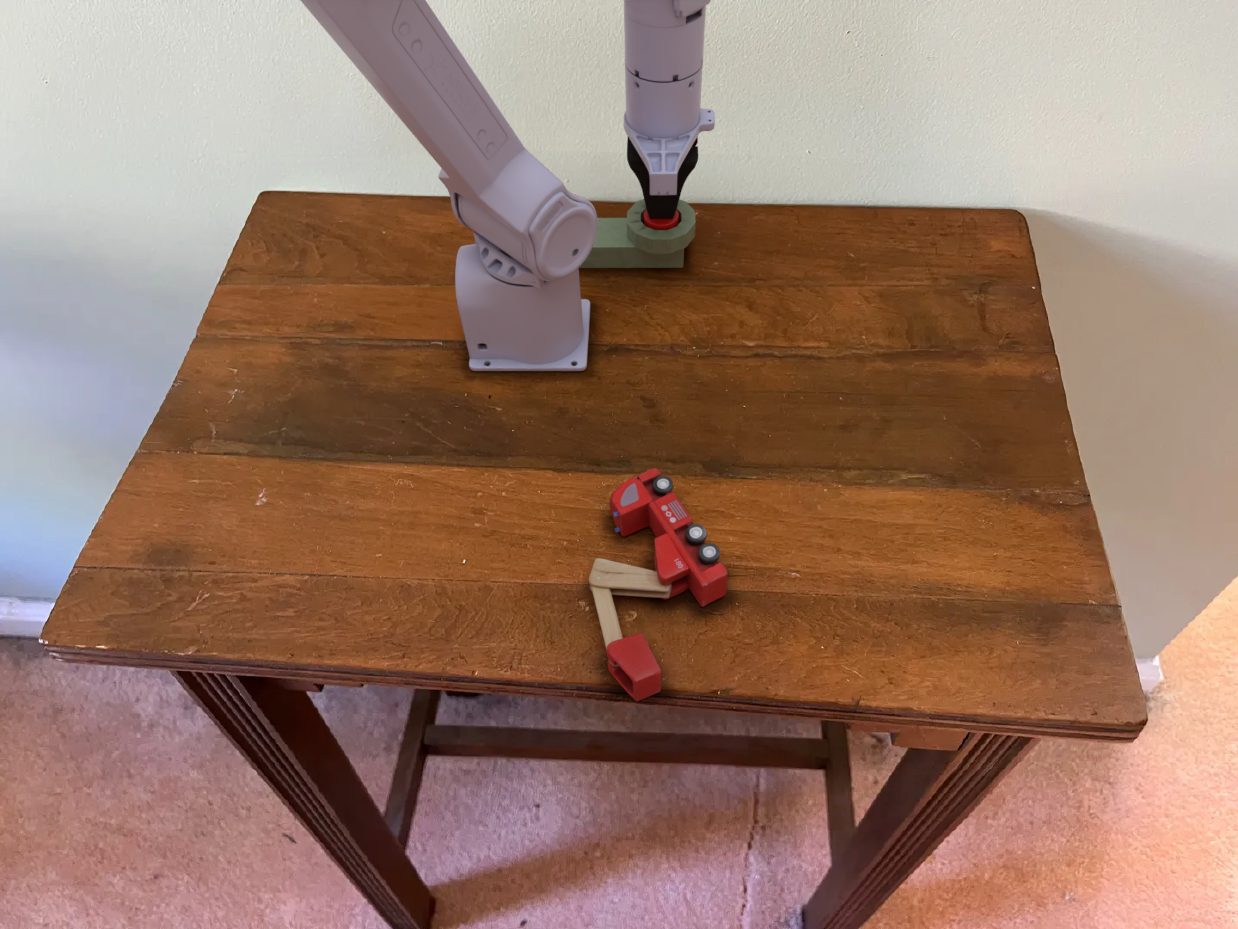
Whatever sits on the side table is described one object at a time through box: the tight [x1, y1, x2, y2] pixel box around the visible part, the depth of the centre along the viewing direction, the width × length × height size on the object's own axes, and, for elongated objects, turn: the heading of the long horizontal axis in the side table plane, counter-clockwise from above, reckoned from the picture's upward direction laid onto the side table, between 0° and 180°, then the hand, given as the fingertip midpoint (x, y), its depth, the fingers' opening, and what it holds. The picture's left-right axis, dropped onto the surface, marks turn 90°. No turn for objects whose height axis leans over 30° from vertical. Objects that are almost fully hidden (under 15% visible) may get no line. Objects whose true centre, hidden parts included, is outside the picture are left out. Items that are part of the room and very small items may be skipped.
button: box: [644, 209, 679, 230], centre depth 75 cm, size 3×3×2 cm
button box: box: [579, 198, 696, 269], centre depth 76 cm, size 11×6×4 cm, turn 89°
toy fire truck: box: [588, 467, 729, 702], centre depth 57 cm, size 3×14×10 cm
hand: (661, 214), depth 74 cm, fingers closed, pressing on button
